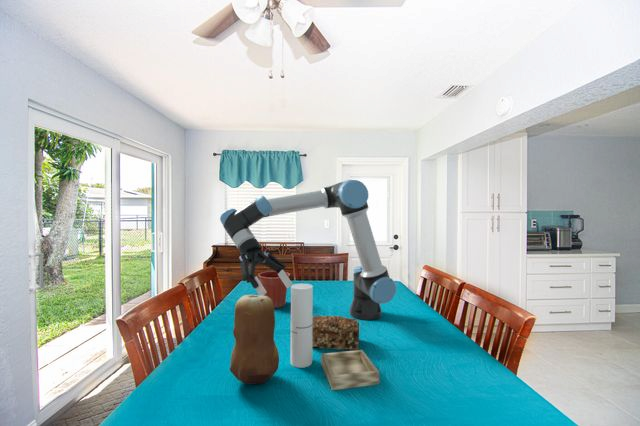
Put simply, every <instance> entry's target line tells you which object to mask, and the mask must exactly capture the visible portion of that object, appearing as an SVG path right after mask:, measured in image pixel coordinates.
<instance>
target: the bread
mask: <svg viewBox="0 0 640 426" xmlns="http://www.w3.org/2000/svg"><path fill="white" fill-rule="evenodd" d="M356 319H357V318H350V317H344V316H341V315H340V316H339V315H325V316H323V315H320V314H319V315H314V316H313V323H312V348H320V349H326V350H327V349H329V350H339V351H341V350H347V351H355V350H359V345H360V344H359V343H360V323H359V321H358V320H356Z"/></svg>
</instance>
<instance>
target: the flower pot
mask: <svg viewBox="0 0 640 426" xmlns="http://www.w3.org/2000/svg"><path fill="white" fill-rule="evenodd" d="M285 272H286V271H285ZM286 274H287V275H288V278H289V279H290V275H291V274H290V272H286ZM257 277H258V279H259V281H260V282H261V284H262V285H263V287H264V288H265V290H266V292H267V293H266V294H265V295H264V296H267V297H269V298H270V299H271V300H272V302H273V305H274V309H279V308H282V307H285V305H286V301H287V292H288V288H286V286H285V285H284V283H283V282H282V280H281V279H280V277H279V276H278V272H276V271H274V270H273V271H272V270H271V271H263V272H260V273H258V275H257Z"/></svg>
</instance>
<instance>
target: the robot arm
mask: <svg viewBox="0 0 640 426" xmlns="http://www.w3.org/2000/svg"><path fill="white" fill-rule="evenodd" d="M368 199H369V191H368V188H367V186H366V185H365V184H364V183H363V182H361V181H360V180H358V179H347V180H345V181H340V182H338V183H335V184H332V185H330V186H326V187H322V188H321V189H320V190H315V191H309V192H302V193H297V194H291V195H286V196H281V197H280V196H279V197H273V198H267V197H265V196H264V195H261V196H259V197H257V198H255V199H254V200H253V201H251V202H249V203H248V204H247V205H245V206H244V207H242V208H241V209H238V210H237V209H235V208H230V209H226V210H225V211H223V213H221V214H220V217H219V221H220V222H221V224H222V226H223V228H224V230H225V231H226V233H227V234H228V236H229V238H230V239H231V241H232V242H233V243H234V245H235V246H236V248H237V249H238V251H239V253H240V256H239V257H238V262H239V264H240V271H241V279H242V281H243V282H246V283H247V284H250V285H251V286H252V288H253V289H255V291H256V292H257V295H263V296H264V295H265V294H266V293H267V292H266V290H265V288H264V287H263V285H262V284H261V282H260V280H259V277H258V275H257V276H256V275H255V272H256V266H259V265H262V266H265V267H267V268H269V269H271V270H273V271H276V272H278V276H279V277H280V279H281V280H282V282H283V283H284V285H285V286H286V288H287V289H289V288H291V286H292V285H293V282H292V281H291V279H290V277H289V278H288V275H287V274H286V271H285V269H286V268H287V265H286V264H285V263H283V262H282V261H281V260H279V259H278V258H277V257H276V256H274V255H273V254H272V253H271V252H270V251H269V250H268V249H266V250H265V251H263V250H262V246H261V244H260V243H259V241H258V239H257V238H256V236H255V235H254V233H253V232H252V231H251V229H250V227H251V226H253V225H254V224H255V223H257V222H259V221H260V220H262V219H264V218H269V217H274V216H280V215H285V214H290V213H295V212H296V213H297V212H302V211H307V210H312V209H313V210H314V209H318V208H324V209H331V208H338V209H340V211H341V212H340V214H341V215H342V217H344V218H346V220H347V223H348V226H349V230H350V233H351V237H352V241H353V243H354V246H355V249H356V253H357V256H358V259H359V261H360V265H361V266H355V267H354V268H353V275H352V276H353V298H352V301H351V304H350V307H349V315H350V316H351V317H352V318H354V319H359V320H365V321H366V320H367V321H371V320H378V319H380V318H382V313H383V312H382V308H381V305H383V304H387V303H389V302H391V301H392V300H393V299H394V297H395V296H396V293H397V284H396V282H395V281H394V280H393V278H391V277H390V274H389V272H388V269H387V266H385V265H384V264H382V261H381V257H380V253H379V251H378V247H377V244H376V241H375V238H374V237H375V236H374V234H373V230H372V227H371V224H370V221H369V217H368V214H367V211H368V210H369V205H368Z"/></svg>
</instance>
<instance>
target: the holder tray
mask: <svg viewBox="0 0 640 426" xmlns="http://www.w3.org/2000/svg"><path fill="white" fill-rule="evenodd" d="M320 360H321V361H320V366H321V367H322V369H323V372H324V374H325V377H326V379H327V381H328V383H329V387H330V388H331V391H336V390H337V391H338V390H344V389H345V390H346V389H352V388H353V389H354V388H361V387H367V386H374V385H375V386H376V385H380V371H379V370H378V369H377V367H376V366H375V364H373V363H374V362H373V361H371V359H370V357H368V355H367V354H366V353H365V352H364V350H363V349H357V350H347V351H338V352H336V351H335V352H327V353H321V354H320Z"/></svg>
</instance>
